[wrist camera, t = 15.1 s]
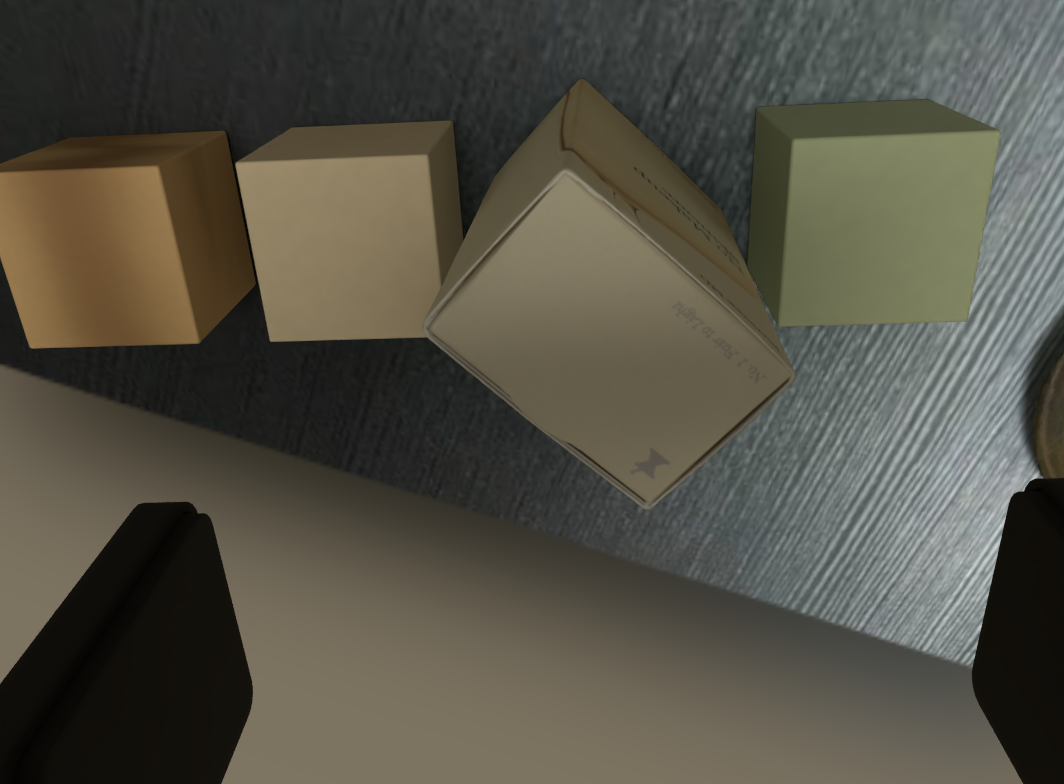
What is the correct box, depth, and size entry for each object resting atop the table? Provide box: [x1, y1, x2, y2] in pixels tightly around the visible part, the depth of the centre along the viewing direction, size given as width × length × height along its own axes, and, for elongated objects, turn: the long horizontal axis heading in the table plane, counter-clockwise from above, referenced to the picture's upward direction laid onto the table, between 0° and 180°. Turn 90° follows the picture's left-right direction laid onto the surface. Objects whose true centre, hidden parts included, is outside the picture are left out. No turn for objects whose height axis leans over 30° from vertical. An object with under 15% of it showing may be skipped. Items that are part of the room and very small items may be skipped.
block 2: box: [235, 121, 463, 342], centre depth 26 cm, size 5×5×5 cm
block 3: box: [747, 99, 1001, 327], centre depth 25 cm, size 5×5×5 cm
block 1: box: [0, 131, 256, 348], centre depth 26 cm, size 5×5×5 cm
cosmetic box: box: [422, 79, 796, 510], centre depth 22 cm, size 6×4×12 cm
